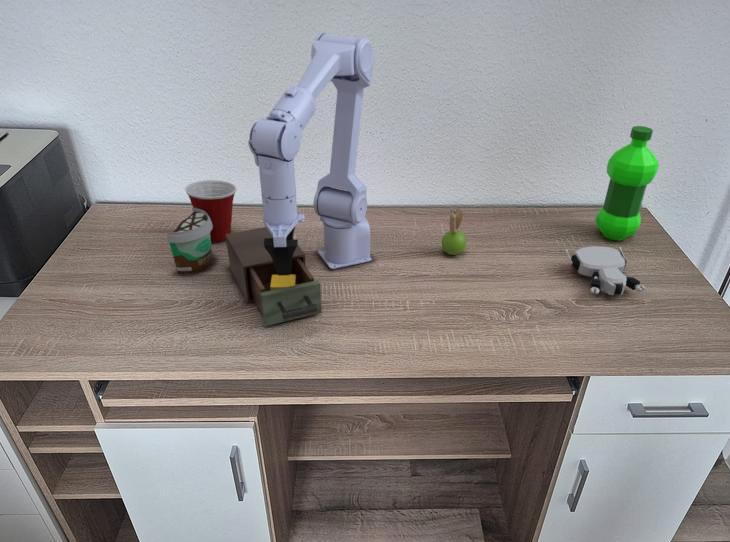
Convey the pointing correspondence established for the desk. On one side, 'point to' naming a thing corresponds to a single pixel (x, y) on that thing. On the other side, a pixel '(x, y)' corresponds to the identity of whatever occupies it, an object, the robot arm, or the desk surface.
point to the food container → (192, 243)
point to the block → (282, 281)
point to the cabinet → (250, 254)
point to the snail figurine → (454, 235)
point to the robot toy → (604, 269)
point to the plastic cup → (214, 204)
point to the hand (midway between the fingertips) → (284, 263)
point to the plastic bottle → (627, 186)
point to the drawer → (284, 293)
